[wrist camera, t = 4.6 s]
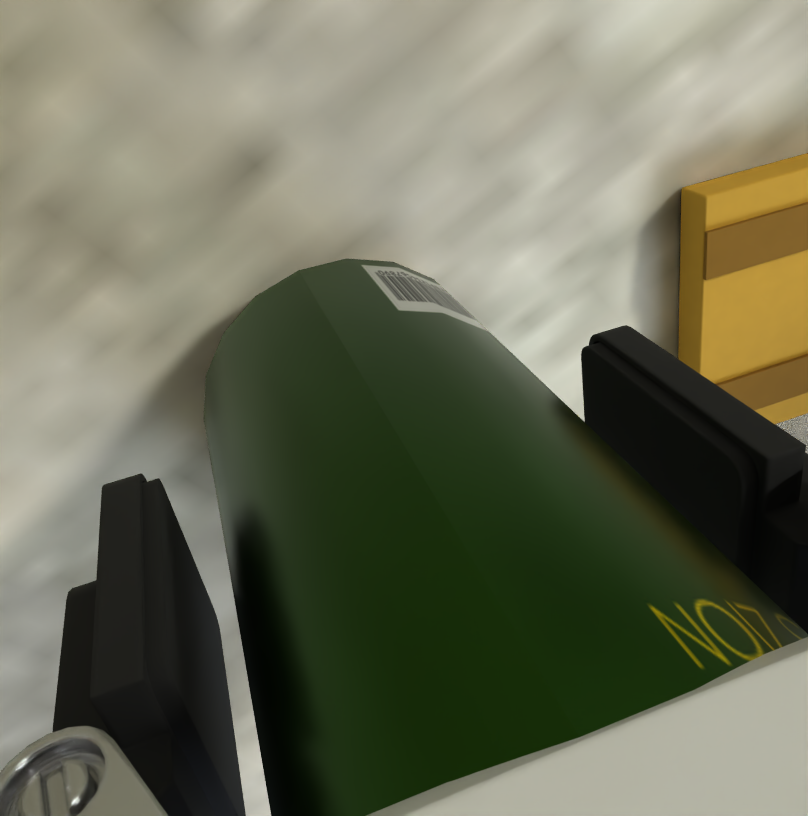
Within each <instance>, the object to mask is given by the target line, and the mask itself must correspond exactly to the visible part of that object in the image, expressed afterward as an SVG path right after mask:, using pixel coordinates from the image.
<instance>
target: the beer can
mask: <svg viewBox="0 0 808 816" xmlns="http://www.w3.org/2000/svg"><path fill="white" fill-rule="evenodd" d="M204 424H205V430H206V436H207V442H208V447H209V453H210V459H211V465H212V471H213V477H214V483H215V488H216V494H217V500H218V506H219V512H220V518H221V523H222V529H223V535H224V541H225V547H226V553H227V559H228V564H229V570H230V576H231V582H232V588H233V594H234V600H235V605H236V611H237V617H238V623H239V629H240V635H241V640H242V646H243V652H244V658H245V664H246V670H247V676H248V681H249V687H250V693H251V699H252V705H253V711H254V716H255V722H256V728H257V734H258V740H259V746H260V752H261V757H262V763H263V769H264V775H265V781H266V787H267V793H268V798H269V804H270V810H271V816H366V815H369V814H371V813H374V812H376V811H379V810H381V809H383V808H386V807H388V806H391V805H393V804H396V803H398V802H400V801H403V800H405V799H408V798H410V797H413V796H415V795H418V794H420V793H422V792H425V791H427V790H430V789H432V788H435V787H437V786H439V785H442V784H444V783H447V782H450V781H453V780H456V779H459V778H462V777H465V776H468V775H470V774H473V773H476V772H479V771H482V770H485V769H487V768H490V767H493V766H496V765H499V764H502V763H505V762H508V761H511V760H514V759H517V758H520V757H522V756H525V755H528V754H531V753H534V752H537V751H540V750H543V749H546V748H549V747H552V746H555V745H558V744H561V743H564V742H567V741H570V740H573V739H576V738H579V737H582V736H584V735H586V734H589V733H591V732H594V731H596V730H598V729H601V728H603V727H606V726H608V725H611V724H613V723H615V722H618V721H620V720H623V719H625V718H628V717H630V716H632V715H635V714H637V713H640V712H642V711H645V710H647V709H649V708H652V707H654V706H657V705H659V704H661V703H664V702H666V701H669V700H671V699H674V698H676V697H678V696H681V695H683V694H686V693H688V692H691V691H693V690H695V689H697V688H699V687H701V686H703V685H705V684H707V683H708V682H710V681H712V680H714V679H716V678H718V677H720V676H722V675H724V674H726V673H728V672H730V671H732V670H734V669H736V668H738V667H739V666H741V665H743V664H745V663H747V662H749V661H752V660H754V659H756V658H758V657H760V656H762V655H764V654H766V653H769V652H771V651H774V650H776V649H779V648H781V647H784V646H786V645H789V644H791V643H794V642H796V641H799V640H801V639H804V638H806V637H808V634H807V633H806V632H805V631H804V630H803V629H802V628H801V627H800V626H799V625H798V624H796V623H795V622H794V621H793V620H792V619H791V618H790V617H789V616H788V615H787V614H786V613H785V612H784V611H783V610H782V609H781V608H780V607H779V606H778V605H776V604H775V603H774V602H773V601H772V600H771V599H770V598H769V597H768V596H767V595H766V594H765V593H764V592H763V591H762V590H761V589H760V588H759V587H758V586H756V585H755V584H754V583H753V582H752V581H751V580H750V579H749V578H748V577H747V576H746V575H745V574H744V573H743V572H742V571H741V570H740V569H739V568H738V567H736V566H735V565H734V564H733V563H732V562H731V561H730V560H729V559H728V558H727V557H726V556H725V555H724V554H723V553H722V552H721V551H720V550H719V549H717V548H716V547H715V546H714V545H713V544H712V543H711V542H710V541H709V540H708V539H707V538H706V537H705V536H704V535H703V534H702V533H701V532H700V531H699V530H697V529H696V528H695V527H694V526H693V525H692V524H691V523H690V522H689V521H688V520H687V519H686V518H685V517H684V516H683V515H682V514H681V513H680V512H679V511H677V510H676V509H675V508H674V507H673V506H672V505H671V504H670V503H669V502H668V501H667V500H666V499H665V498H664V497H663V496H662V495H661V494H660V493H659V492H657V491H656V490H655V489H654V488H653V487H652V486H651V485H650V484H649V483H648V482H647V481H646V480H645V479H644V478H643V477H642V476H641V475H640V474H638V473H637V472H636V471H635V470H634V469H633V468H632V467H631V466H630V465H629V464H628V463H627V462H626V461H625V460H624V459H623V458H622V457H621V456H620V455H618V454H617V453H616V452H615V451H614V450H613V449H612V448H611V447H610V446H609V445H608V444H607V443H606V442H605V441H604V440H603V439H602V438H601V437H600V436H598V435H597V434H596V433H595V432H594V431H593V430H592V429H591V428H590V427H589V426H588V425H587V424H586V423H585V422H584V421H583V420H582V419H581V418H580V417H578V416H577V415H576V414H575V413H574V412H573V411H572V410H571V409H570V408H569V407H568V406H567V405H566V404H565V403H564V402H563V401H562V400H561V399H559V398H558V397H557V396H556V395H555V394H554V393H553V392H552V391H551V390H550V389H549V388H548V387H547V386H546V385H545V384H544V383H543V382H542V381H541V380H539V379H538V378H537V377H536V376H535V375H534V374H533V373H532V372H531V371H530V370H529V369H528V368H527V367H526V366H525V365H524V364H523V363H522V362H521V361H519V360H518V359H517V358H516V357H515V356H514V355H513V354H512V353H511V352H510V351H509V350H508V349H507V348H506V347H505V346H504V345H503V344H502V343H501V342H499V341H498V340H497V339H496V338H495V337H494V336H493V335H492V334H491V333H490V332H489V331H488V330H487V329H486V328H485V327H484V326H483V325H482V324H480V323H479V322H478V321H477V320H476V319H475V318H474V317H473V316H472V315H471V314H470V313H469V312H468V311H467V310H466V309H465V308H464V307H463V306H462V305H460V304H459V303H458V302H457V301H456V300H455V299H454V298H453V297H452V296H451V295H450V294H449V293H448V292H447V291H446V290H445V289H443V288H442V287H441V286H440V285H439V284H438V283H437V282H436V281H435V280H434V279H432V278H430V277H427V276H425V275H423V274H420V273H418V272H416V271H413V270H411V269H409V268H406V267H404V266H402V265H399V264H397V263H395V262H387V261H373V260H358V259H343V260H339V261H335V262H331V263H327V264H323V265H319V266H315V267H311V268H307V269H303V270H299V271H297V272H295V273H294V274H292V275H290V276H289V277H287V278H285V279H284V280H282V281H280V282H279V283H277V284H275V285H274V286H272V287H271V288H269V289H267V290H266V291H264V292H262V293H261V294H259V295H257V296H256V297H255V298H254V299H253V300H252V301H251V302H250V304H249V305H248V306H247V307H246V308H245V309H244V310H243V312H242V313H241V314H240V315H239V316H238V317H237V318H236V320H235V321H234V322H233V323H232V324H231V325H230V326H229V328H228V329H227V330H226V331H225V332H224V333H223V336H222V338H221V340H220V343H219V345H218V348H217V350H216V352H215V355H214V357H213V360H212V362H211V364H210V367H209V369H208V371H207V374H206V380H205V400H204Z"/></svg>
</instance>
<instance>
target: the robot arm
mask: <svg viewBox="0 0 808 816" xmlns="http://www.w3.org/2000/svg"><path fill="white" fill-rule="evenodd" d="M581 361H582V380H583V398H584V416H585V423H586V424H587V425H588V426H589V427H590V428H591V429H592V430H593V431H594V432H595V433H596V434H597V435H598V436H600V437H601V438H602V439H603V440H604V441H605V442H606V443H607V444H608V445H609V446H610V447H611V448H612V449H613V450H614V451H615V452H616V453H617V454H618V455H620V456H621V457H622V458H623V459H624V460H625V461H626V462H627V463H628V464H629V465H630V466H631V467H632V468H633V469H634V470H635V471H636V472H637V473H638V474H640V475H641V476H642V477H643V478H644V479H645V480H646V481H647V482H648V483H649V484H650V485H651V486H652V487H653V488H654V489H655V490H656V491H657V492H659V493H660V494H661V495H662V496H663V497H664V498H665V499H666V500H667V501H668V502H669V503H670V504H671V505H672V506H673V507H674V508H675V509H676V510H677V511H679V512H680V513H681V514H682V515H683V516H684V517H685V518H686V519H687V520H688V521H689V522H690V523H691V524H692V525H693V526H694V527H695V528H696V529H697V530H699V531H700V532H701V533H702V534H703V535H704V536H705V537H706V538H707V539H708V540H709V541H710V542H711V543H712V544H713V545H714V546H715V547H716V548H717V549H719V550H720V551H721V552H722V553H723V554H724V555H725V556H726V557H727V558H728V559H729V560H730V561H731V562H732V563H733V564H734V565H735V566H736V567H738V568H739V569H740V570H741V571H742V572H743V573H744V574H745V575H746V576H747V577H748V578H749V579H750V580H751V581H752V582H753V583H754V584H755V585H756V586H758V587H759V588H760V589H761V590H762V591H763V592H764V593H765V594H766V595H767V596H768V597H769V598H770V599H771V600H772V601H773V602H774V603H775V604H776V605H778V606H779V607H780V608H781V609H782V610H783V611H784V612H785V613H786V614H787V615H788V616H789V617H790V618H791V619H792V620H793V621H794V622H795V623H796V624H798V625H799V626H800V627H801V628H802V629H803V630H804V631H805V632H806V633H807V634H808V454H807V453H805V449H806V445H805V444H803V443H802V442H800V441H799V440H797V439H796V438H794V437H793V436H791V435H790V434H788V433H787V432H785V431H784V430H782V429H781V428H779V427H778V426H776V425H775V424H774V423H772V422H771V421H769V420H768V419H766V418H765V417H763V416H762V415H760V414H759V413H757V412H756V411H754V410H753V409H751V408H750V407H748V406H747V405H745V404H744V403H742V402H741V401H739V400H738V399H736V398H735V397H733V396H732V395H731V394H729V393H728V392H726V391H725V390H723V389H722V388H720V387H719V386H717V385H716V384H714V383H713V382H711V381H710V380H708V379H707V378H705V377H704V376H702V375H701V374H699V373H698V372H696V371H695V370H693V369H692V368H690V367H689V366H688V365H686V364H685V363H683V362H682V361H680V360H679V359H677V358H676V357H674V356H673V355H671V354H670V353H668V352H667V351H665V350H664V349H662V348H661V347H659V346H658V345H656V344H655V343H653V342H652V341H650V340H649V339H647V338H646V337H644V336H643V335H642V334H640V333H639V332H637V331H636V330H634V329H633V328H631V327H629V326H627V325H626V326H621V327H618V328H615V329H611V330H608V331H605V332H601V333H598V334H595V335H593V336H592V337H591V338H590V342H589V346H586V347H584V348H583V349H582V353H581ZM0 816H246V815H245V807H244V800H243V793H242V786H241V778H240V771H239V764H238V757H237V750H236V742H235V735H234V728H233V721H232V714H231V706H230V699H229V692H228V685H227V678H226V670H225V663H224V656H223V649H222V641H221V634H220V628H219V624H218V620H217V617H216V614H215V611H214V608H213V605H212V603H211V600H210V598H209V596H208V593H207V591H206V588H205V586H204V584H203V581H202V579H201V576H200V574H199V571H198V569H197V567H196V564H195V562H194V559H193V557H192V554H191V552H190V550H189V547H188V545H187V542H186V540H185V537H184V535H183V533H182V530H181V528H180V525H179V523H178V520H177V518H176V516H175V513H174V511H173V508H172V506H171V503H170V501H169V499H168V496H167V494H166V491H165V489H164V487H163V484H162V482H161V481H160V479H159V478H158V479H155V480H152V481H148V482H147V481H146V479H145V477H144V475H142V474H138V475H135V476H131V477H128V478H125V479H122V480H118V481H115V482H112V483H108V484H105V485H103V487H102V495H101V512H100V529H99V546H98V563H97V580H96V581H93V582H90V583H87V584H84V585H81V586H78V587H75V588H72V589H71V590H70V591H69V592H68V596H67V600H66V609H65V619H64V628H63V637H62V647H61V656H60V666H59V675H58V685H57V694H56V703H55V713H54V722H53V732H52V733H50V734H47V735H46V736H44V737H42V738H40V739H39V740H37V741H35V742H33V743H32V744H30V745H28V746H27V747H26V748H25V749H23V750H22V751H21V752H20V753H19V754H18V755H16V756H15V757H14V758H13V759H12V760H10V761H9V762H8V764H7V765H6V766H5V767H4V768H3V770H2V771H1V772H0ZM366 816H808V637H806V638H804V639H801V640H799V641H796V642H794V643H791V644H789V645H786V646H784V647H781V648H779V649H776V650H774V651H771V652H769V653H766V654H764V655H762V656H760V657H758V658H756V659H754V660H752V661H749V662H747V663H745V664H743V665H741V666H739V667H738V668H736V669H734V670H732V671H730V672H728V673H726V674H724V675H722V676H720V677H718V678H716V679H714V680H712V681H710V682H708V683H707V684H705V685H703V686H701V687H699V688H697V689H695V690H693V691H691V692H688V693H686V694H683V695H681V696H678V697H676V698H674V699H671V700H669V701H666V702H664V703H661V704H659V705H657V706H654V707H652V708H649V709H647V710H645V711H642V712H640V713H637V714H635V715H632V716H630V717H628V718H625V719H623V720H620V721H618V722H615V723H613V724H611V725H608V726H606V727H603V728H601V729H598V730H596V731H594V732H591V733H589V734H586V735H584V736H582V737H579V738H576V739H573V740H570V741H567V742H564V743H561V744H558V745H555V746H552V747H549V748H546V749H543V750H540V751H537V752H534V753H531V754H528V755H525V756H522V757H520V758H517V759H514V760H511V761H508V762H505V763H502V764H499V765H496V766H493V767H490V768H487V769H485V770H482V771H479V772H476V773H473V774H470V775H468V776H465V777H462V778H459V779H456V780H453V781H450V782H447V783H444V784H442V785H439V786H437V787H435V788H432V789H430V790H427V791H425V792H422V793H420V794H418V795H415V796H413V797H410V798H408V799H405V800H403V801H400V802H398V803H396V804H393V805H391V806H388V807H386V808H383V809H381V810H379V811H376V812H374V813H371V814H369V815H366Z"/></svg>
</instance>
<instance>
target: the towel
mask: <svg viewBox="0 0 808 816" xmlns="http://www.w3.org/2000/svg"><path fill="white" fill-rule="evenodd" d="M678 359H679V360H680V361H682V362H683V363H685V364H686V365H688V366H689V367H690V368H692V369H693V370H695V371H696V372H698V373H699V374H701V375H702V376H704V377H705V378H707V379H708V380H710V381H711V382H713V383H714V384H716V385H717V386H719V387H720V388H722V389H723V390H725V391H726V392H728V393H729V394H731V395H732V396H733V397H735V398H736V399H738V400H739V401H741V402H742V403H744V404H745V405H747V406H748V407H750V408H751V409H753V410H754V411H756V412H757V413H759V414H760V415H762V416H763V417H765V418H766V419H768V420H769V421H771V422H772V423H774V424H777V423H780V422H783V421H786V420H789V419H792V418H795V417H797V416H800V415H803V414H806V413H808V153H806V154H803V155H799V156H795V157H792V158H788V159H784V160H781V161H777V162H773V163H770V164H766V165H763V166H759V167H755V168H752V169H748V170H744V171H741V172H737V173H734V174H730V175H726V176H723V177H719V178H715V179H712V180H708V181H705V182H701V183H697V184H694V185H690V186H686V187H683V188H682V191H681V242H680V294H679V345H678Z"/></svg>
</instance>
